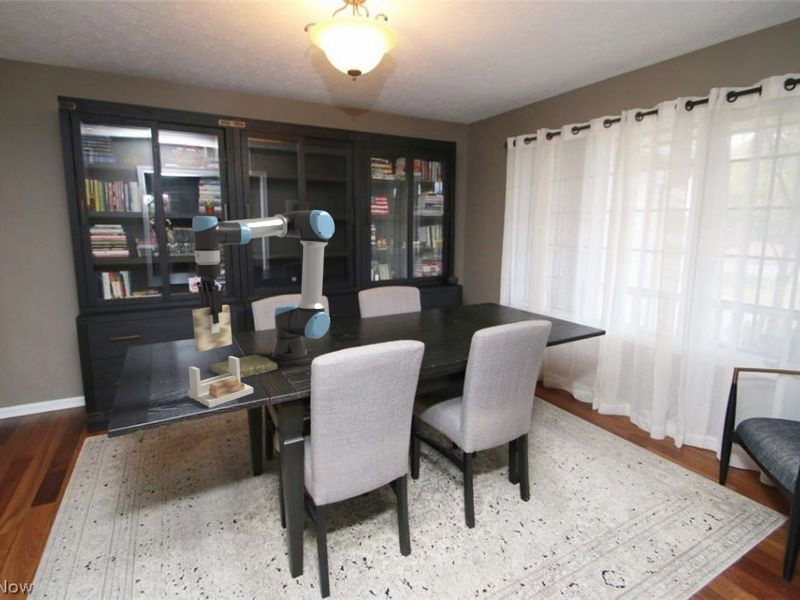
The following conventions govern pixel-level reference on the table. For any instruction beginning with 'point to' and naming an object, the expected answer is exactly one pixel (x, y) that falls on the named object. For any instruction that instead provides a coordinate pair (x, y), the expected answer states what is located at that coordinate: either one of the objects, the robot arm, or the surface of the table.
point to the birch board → (203, 329)
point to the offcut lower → (227, 391)
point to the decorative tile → (247, 366)
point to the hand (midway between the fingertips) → (213, 331)
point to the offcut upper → (224, 384)
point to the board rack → (201, 388)
